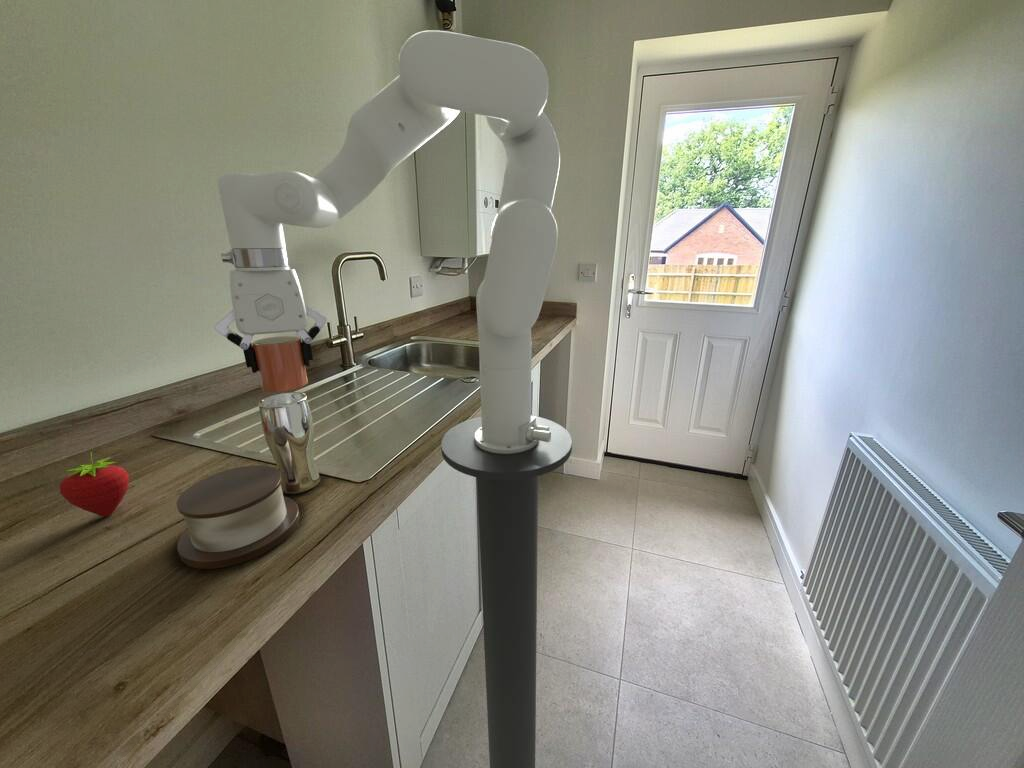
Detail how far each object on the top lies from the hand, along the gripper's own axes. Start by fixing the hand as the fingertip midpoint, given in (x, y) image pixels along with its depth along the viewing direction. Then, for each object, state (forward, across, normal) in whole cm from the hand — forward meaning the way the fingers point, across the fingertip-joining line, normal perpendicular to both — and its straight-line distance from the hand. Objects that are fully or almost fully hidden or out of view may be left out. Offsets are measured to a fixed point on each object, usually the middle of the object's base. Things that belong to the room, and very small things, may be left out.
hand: (281, 366), depth 70 cm
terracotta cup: (+3, 0, 0) cm, 3 cm away
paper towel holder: (+18, -7, -20) cm, 27 cm away
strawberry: (+18, -25, -6) cm, 32 cm away
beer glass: (+18, 0, -10) cm, 20 cm away
